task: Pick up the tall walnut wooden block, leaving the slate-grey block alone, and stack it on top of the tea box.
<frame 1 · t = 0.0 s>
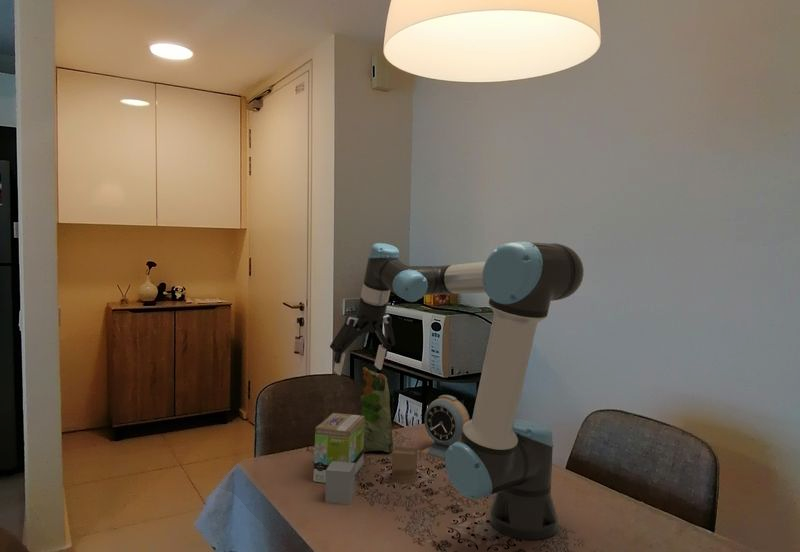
hand: (358, 370, 158), 28 cm above the table, tool tilted 20°, fingers open, 13 cm apart
grey block: (340, 498, 140), on the table
pouch: (374, 450, 174), on the table
walnut block: (404, 478, 153), on the table
tea box: (339, 474, 155), on the table
alarm clock: (446, 453, 173), on the table
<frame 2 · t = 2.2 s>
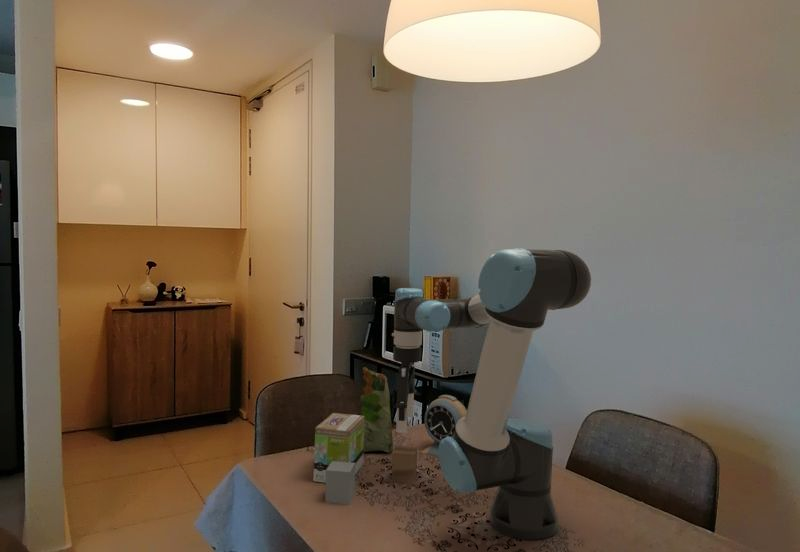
hand: (405, 424, 152), 15 cm above the table, tool pointing down, fingers open, 13 cm apart
nothing on the table moved.
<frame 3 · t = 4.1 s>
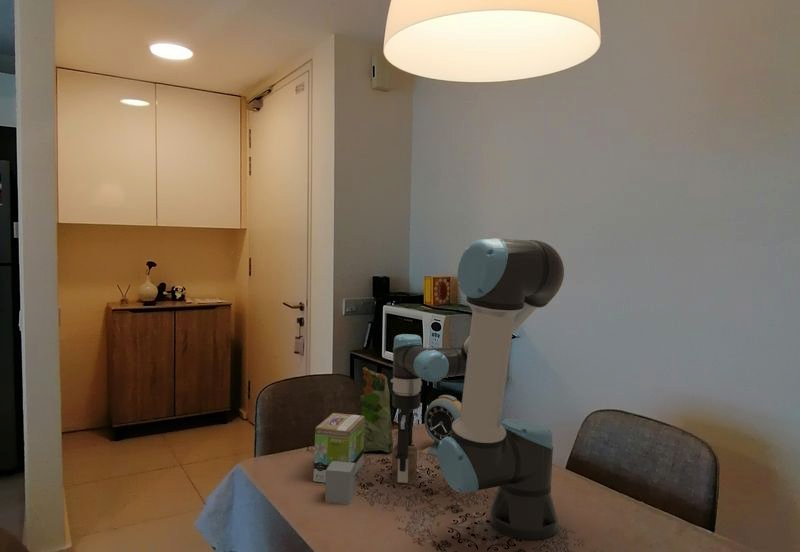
hand: (404, 476, 153), 0 cm above the table, tool pointing down, fingers closed on walnut block, 6 cm apart
walnut block: (404, 478, 153), on the table, touching gripper
everything else where it was.
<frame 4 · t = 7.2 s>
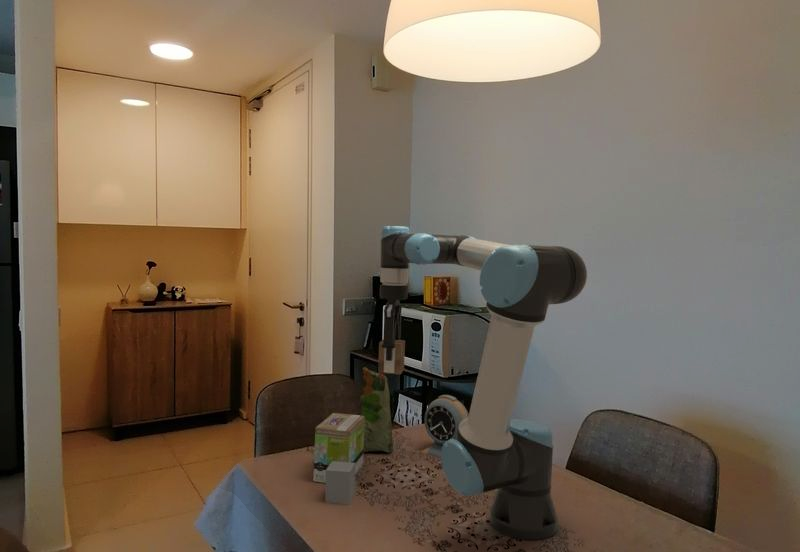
hand: (391, 369, 152), 29 cm above the table, tool pointing down, fingers closed on walnut block, 6 cm apart
walnut block: (391, 371, 152), point 29 cm above the table, touching gripper
everything else where it was.
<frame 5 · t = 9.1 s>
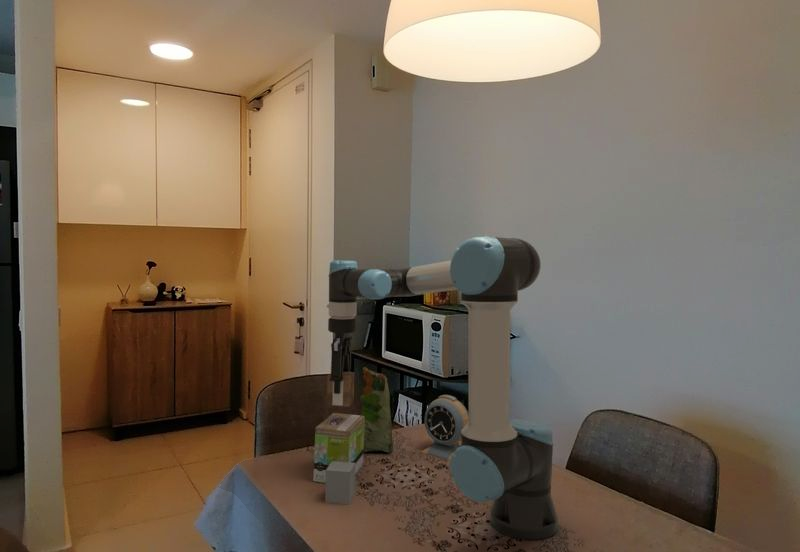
hand: (340, 401, 154), 20 cm above the table, tool pointing down, fingers closed on walnut block, 6 cm apart
walnut block: (340, 403, 154), point 20 cm above the table, touching gripper
everything else where it was.
when the fingers open (17 cm above the table, at t = 10.5 s): walnut block drops 2 cm, resting on tea box.
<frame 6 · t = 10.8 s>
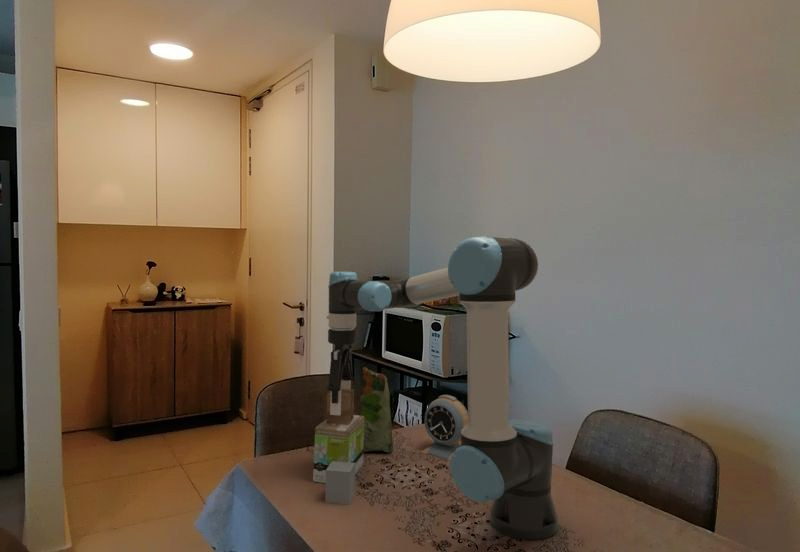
hand: (340, 408, 154), 18 cm above the table, tool pointing down, fingers open, 10 cm apart
walnut block: (340, 420, 154), point 15 cm above the table, touching tea box
tea box: (339, 474, 155), on the table, touching walnut block
everything else where it was.
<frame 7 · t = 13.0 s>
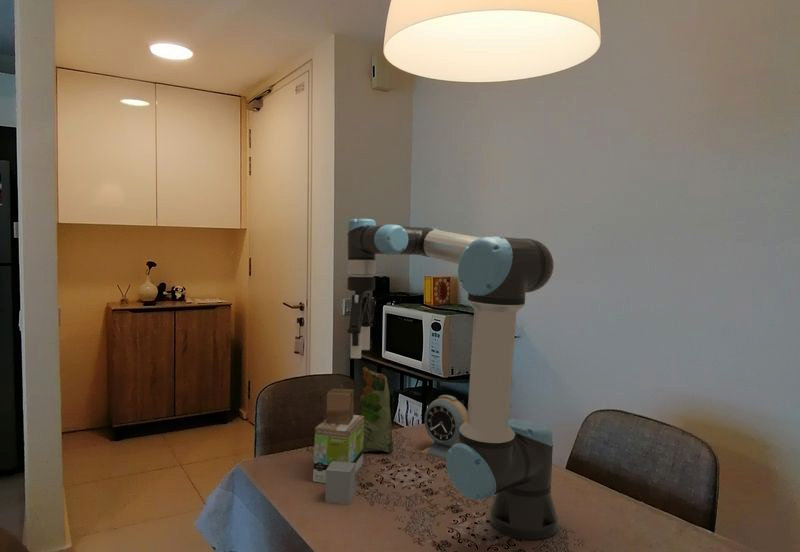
hand: (360, 353, 154), 33 cm above the table, tool pointing down, fingers open, 13 cm apart
nothing on the table moved.
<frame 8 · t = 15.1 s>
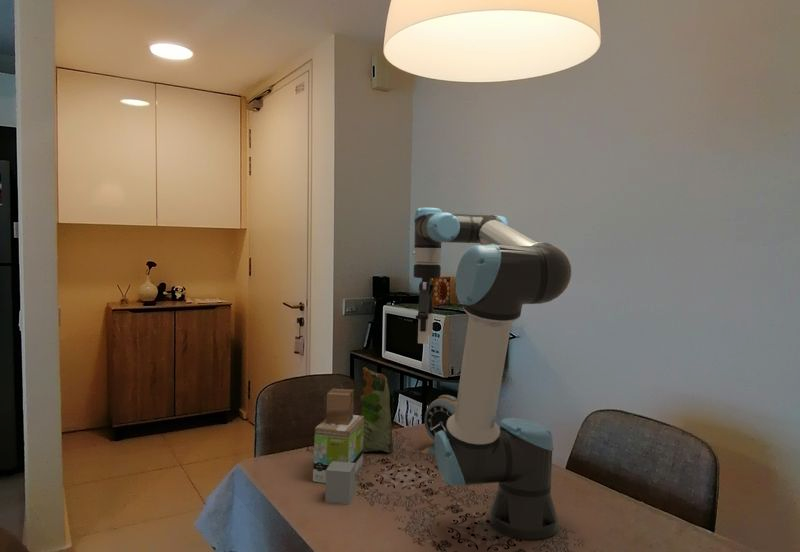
hand: (425, 339, 158), 37 cm above the table, tool pointing down, fingers open, 13 cm apart
nothing on the table moved.
at the end: walnut block inside the target area on the tea box (0.2 cm from its centre), point 15.0 cm above the tea box's base; walnut block tilted 0°; the gripper is holding nothing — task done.
